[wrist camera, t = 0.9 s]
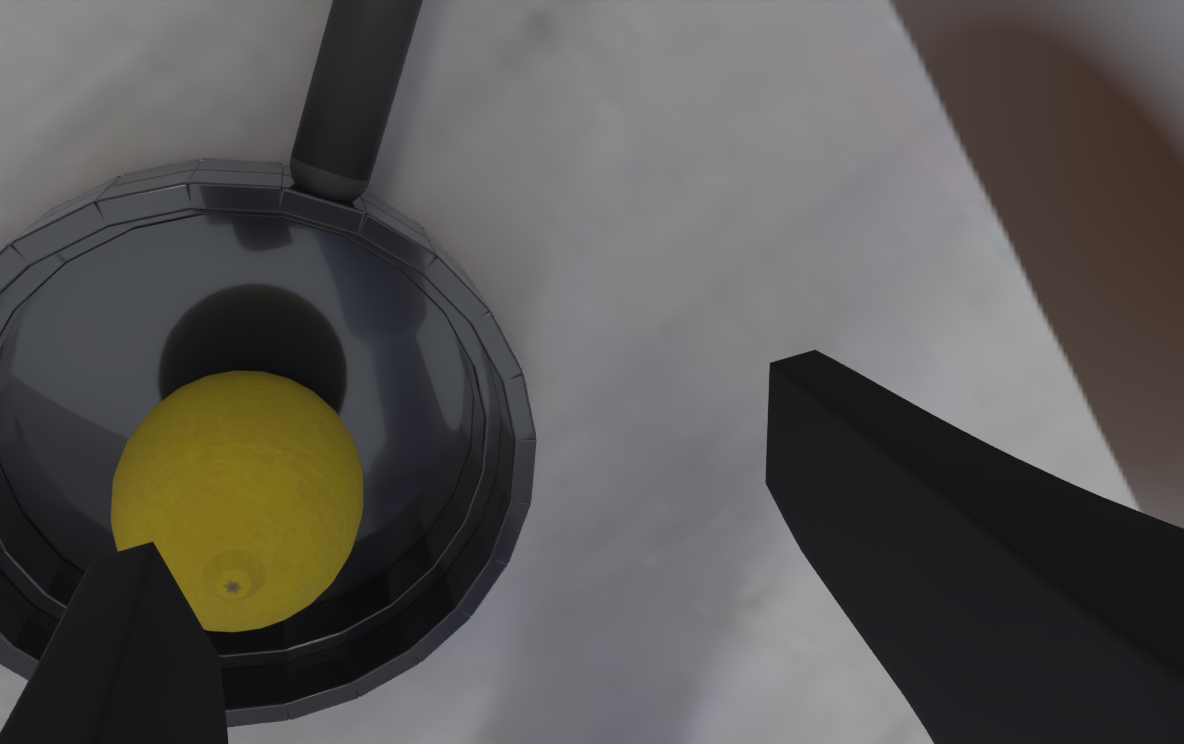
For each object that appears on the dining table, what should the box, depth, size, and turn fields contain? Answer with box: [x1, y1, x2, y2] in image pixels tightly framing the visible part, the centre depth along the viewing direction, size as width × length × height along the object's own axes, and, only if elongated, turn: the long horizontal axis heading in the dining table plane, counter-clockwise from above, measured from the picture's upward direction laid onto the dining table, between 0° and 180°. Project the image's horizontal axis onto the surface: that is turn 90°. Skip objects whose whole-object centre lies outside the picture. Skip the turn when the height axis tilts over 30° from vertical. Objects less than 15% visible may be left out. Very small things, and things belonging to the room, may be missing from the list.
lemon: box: [111, 370, 363, 632], centre depth 22 cm, size 6×6×8 cm
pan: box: [0, 159, 536, 727], centre depth 24 cm, size 14×14×4 cm
